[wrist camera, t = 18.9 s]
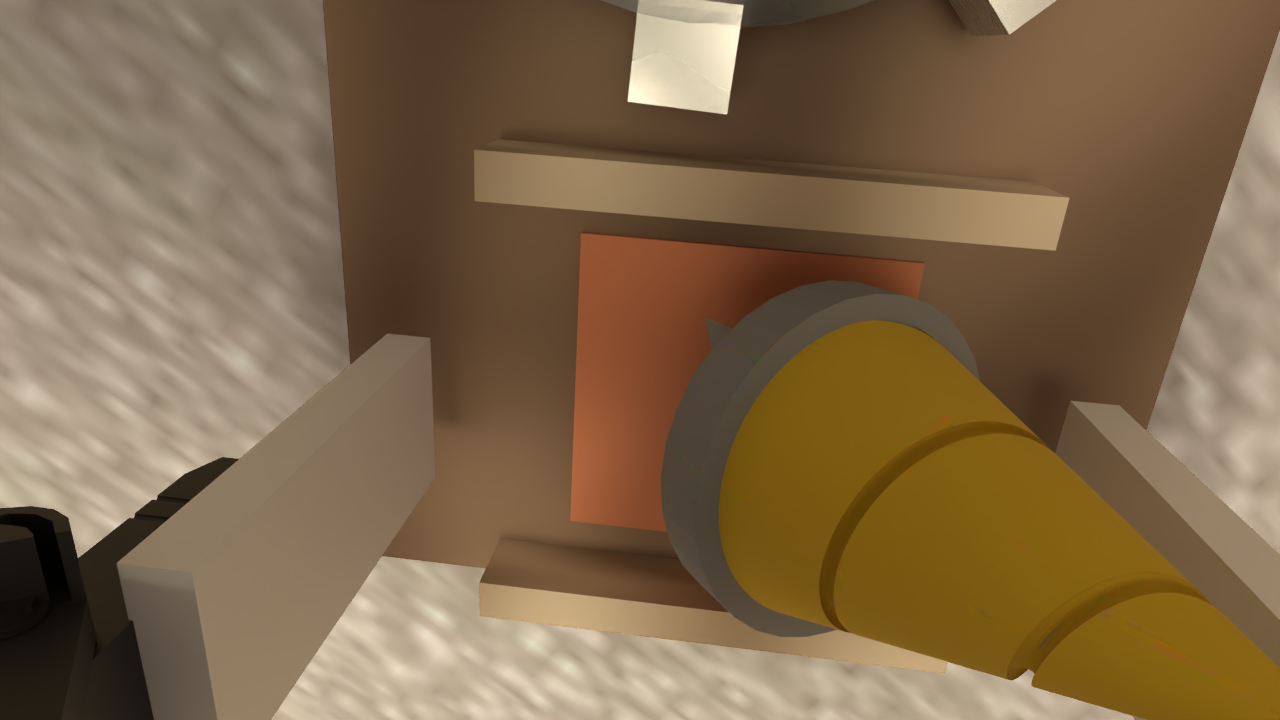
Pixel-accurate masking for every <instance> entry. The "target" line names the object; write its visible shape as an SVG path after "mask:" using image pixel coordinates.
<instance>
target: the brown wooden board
mask: <svg viewBox="0 0 1280 720" xmlns="http://www.w3.org/2000/svg"><path fill="white" fill-rule="evenodd" d="M323 8H324V22H325V35H326V48H327V61H328V74H329V87H330V101H331V114H332V127H333V140H334V153H335V166H336V180H337V193H338V206H339V219H340V232H341V245H342V259H343V272H344V285H345V298H346V311H347V324H348V338H349V351H350V364H352V363H353V362H354V361H356V360H357V359H358V358H359V357H360V356H361V355H363V354H364V353H365V352H366V351H367V350H369V349H370V348H371V347H372V346H373V345H374V344H376V343H377V342H378V341H379V340H380V339H381V338H383V337H384V336H385V335H386V334H397V335H407V336H417V337H428V338H430V341H431V369H432V397H433V425H434V454H435V478H434V480H433V481H432V483H431V484H430V486H429V487H428V489H427V490H426V492H425V493H424V495H423V496H422V497H421V499H420V500H419V502H418V503H417V505H416V506H415V508H414V509H413V511H412V512H411V514H410V515H409V517H408V518H407V520H406V521H405V523H404V524H403V525H402V527H401V528H400V530H399V531H398V533H397V534H396V536H395V537H394V539H393V540H392V542H391V543H390V545H389V546H388V548H387V549H386V551H385V552H384V553H383V555H382V556H387V557H396V558H404V559H413V560H421V561H430V562H438V563H446V564H455V565H463V566H472V567H480V568H486V570H485V572H484V574H483V576H482V578H481V581H480V616H484V617H493V618H501V619H509V620H517V621H525V622H533V623H541V624H549V625H557V626H565V627H574V628H582V629H590V630H598V631H606V632H614V633H622V634H630V635H638V636H646V637H655V638H663V639H671V640H679V641H687V642H695V643H703V644H711V645H719V646H727V647H735V648H744V649H752V650H760V651H768V652H776V653H784V654H792V655H800V656H808V657H816V658H825V659H833V660H841V661H849V662H857V663H865V664H873V665H881V666H889V667H897V668H906V669H914V670H922V671H930V672H938V673H945V670H946V666H947V661H943V660H940V659H937V658H933V657H930V656H926V655H923V654H919V653H916V652H913V651H909V650H906V649H902V648H899V647H895V646H892V645H889V644H885V643H882V642H878V641H875V640H872V639H868V638H865V637H861V636H858V635H855V634H852V633H848V632H844V631H841V630H834V631H831V632H827V633H822V634H818V635H813V636H809V637H779V636H775V635H771V634H767V633H764V632H760V631H756V630H755V629H753V628H751V627H750V626H748V625H746V624H745V623H743V622H741V621H740V620H738V619H736V618H735V617H734V616H733V615H732V614H730V613H729V612H728V611H727V610H726V609H725V608H724V607H723V606H722V605H721V604H720V603H719V602H718V601H717V600H716V599H715V598H714V597H713V596H712V595H711V594H710V593H709V592H708V591H707V590H706V589H705V588H704V587H703V586H702V585H701V584H700V583H699V582H698V581H697V580H696V579H695V578H694V577H693V576H692V575H691V574H690V573H689V571H688V570H687V569H686V568H685V567H684V566H683V565H682V563H681V561H680V559H679V558H678V556H677V554H676V552H675V550H674V548H673V546H672V544H671V542H670V541H669V537H668V533H667V529H666V525H665V521H664V517H663V513H662V501H661V471H662V464H663V457H664V450H665V444H666V440H667V437H668V434H669V431H670V428H671V425H672V422H673V419H674V416H675V413H676V409H677V407H678V405H679V403H680V401H681V399H682V397H683V395H684V393H685V391H686V389H687V387H688V386H689V384H690V382H691V380H692V378H693V376H694V374H695V373H696V371H697V370H698V368H699V367H700V366H701V364H702V363H703V362H704V360H705V359H706V358H707V356H708V355H709V353H710V352H711V351H712V350H711V345H710V339H709V334H708V328H707V322H706V317H707V318H710V319H712V320H714V321H716V322H719V323H721V324H723V325H726V326H728V327H730V328H733V327H734V326H735V325H736V324H737V323H738V322H739V321H740V320H741V319H742V318H744V317H745V316H747V315H748V314H750V313H751V312H752V311H754V310H755V309H757V308H758V307H760V306H761V305H763V304H764V303H766V302H767V301H768V300H770V299H771V298H774V297H776V296H778V295H781V294H783V293H785V292H788V291H790V290H792V289H795V288H797V287H799V286H802V285H808V284H813V283H818V282H823V281H828V280H834V281H852V282H859V283H863V284H866V285H870V286H874V287H877V288H881V289H884V290H888V291H891V292H895V293H899V294H902V295H905V296H908V297H911V298H914V299H917V300H920V301H923V302H926V303H928V304H930V305H931V306H933V307H934V308H936V309H937V310H938V311H940V312H941V313H943V314H944V315H946V316H947V317H948V318H949V319H950V320H951V321H952V323H953V324H954V325H955V326H956V327H957V329H958V330H959V331H960V332H961V334H962V335H963V336H964V337H965V340H966V342H967V344H968V346H969V348H970V350H971V352H972V354H973V357H974V359H975V361H976V365H977V369H978V374H979V378H980V382H981V383H982V384H983V385H984V386H985V387H986V388H987V389H988V390H989V391H990V392H992V393H993V394H994V395H995V396H996V397H997V398H998V399H999V400H1000V401H1001V402H1002V403H1003V404H1004V405H1005V406H1006V407H1007V408H1008V409H1009V410H1010V411H1011V412H1012V413H1014V414H1015V415H1016V416H1017V417H1018V418H1019V419H1020V420H1021V421H1022V422H1023V423H1024V424H1025V425H1026V426H1027V427H1028V428H1029V429H1030V430H1031V431H1032V432H1033V433H1034V434H1036V435H1037V436H1038V437H1039V438H1040V439H1041V440H1042V441H1043V442H1044V443H1045V444H1046V445H1047V446H1048V447H1049V448H1050V449H1051V450H1052V451H1053V452H1054V453H1055V452H1056V449H1057V446H1058V442H1059V439H1060V435H1061V432H1062V428H1063V425H1064V422H1065V418H1066V415H1067V411H1068V408H1069V404H1070V401H1079V402H1089V403H1099V404H1110V405H1119V406H1120V407H1121V408H1123V409H1124V410H1125V411H1126V412H1127V413H1128V414H1129V415H1130V416H1131V417H1132V418H1133V419H1134V420H1135V421H1137V422H1138V423H1139V424H1140V425H1141V426H1142V427H1143V428H1144V429H1145V430H1146V428H1147V425H1148V422H1149V419H1150V416H1151V413H1152V410H1153V407H1154V404H1155V401H1156V398H1157V395H1158V392H1159V389H1160V386H1161V383H1162V380H1163V377H1164V374H1165V371H1166V368H1167V365H1168V362H1169V359H1170V356H1171V353H1172V350H1173V348H1174V345H1175V342H1176V339H1177V336H1178V333H1179V330H1180V327H1181V324H1182V321H1183V318H1184V315H1185V312H1186V309H1187V306H1188V303H1189V300H1190V297H1191V294H1192V291H1193V288H1194V285H1195V282H1196V279H1197V276H1198V273H1199V270H1200V267H1201V264H1202V261H1203V258H1204V255H1205V252H1206V249H1207V246H1208V243H1209V240H1210V237H1211V234H1212V231H1213V228H1214V225H1215V222H1216V219H1217V216H1218V213H1219V210H1220V207H1221V204H1222V201H1223V198H1224V195H1225V192H1226V189H1227V186H1228V183H1229V180H1230V177H1231V174H1232V171H1233V168H1234V165H1235V162H1236V159H1237V156H1238V153H1239V150H1240V147H1241V144H1242V141H1243V138H1244V135H1245V132H1246V129H1247V126H1248V123H1249V120H1250V117H1251V114H1252V111H1253V108H1254V105H1255V102H1256V99H1257V96H1258V93H1259V90H1260V87H1261V84H1262V81H1263V78H1264V75H1265V72H1266V69H1267V66H1268V63H1269V60H1270V57H1271V54H1272V51H1273V48H1274V45H1275V42H1276V39H1277V36H1278V33H1279V30H1280V0H1056V1H1055V2H1054V3H1052V4H1051V5H1049V6H1048V7H1047V8H1045V9H1044V10H1043V11H1041V12H1040V13H1038V14H1037V15H1036V16H1034V17H1033V18H1032V19H1030V20H1029V21H1027V22H1026V23H1025V24H1023V25H1022V26H1021V27H1019V28H1018V29H1016V30H1015V31H1014V32H1012V33H1011V34H1010V35H984V36H971V35H970V34H969V32H968V30H967V29H966V27H965V26H964V24H963V22H962V21H961V19H960V17H959V16H958V14H957V13H956V11H955V9H954V8H953V6H952V5H951V3H950V1H949V0H873V1H871V2H868V3H865V4H863V5H860V6H857V7H855V8H852V9H849V10H845V11H842V12H838V13H834V14H830V15H826V16H821V17H817V18H813V19H808V20H804V21H799V22H795V23H791V24H784V25H773V26H761V27H750V28H740V32H739V39H738V46H737V52H736V59H735V65H734V72H733V79H732V85H731V92H730V98H729V105H728V112H727V114H719V113H712V112H704V111H697V110H689V109H681V108H674V107H666V106H658V105H651V104H643V103H635V102H628V94H629V85H630V75H631V66H632V57H633V47H634V38H635V28H636V19H637V13H635V12H632V11H629V10H627V9H624V8H621V7H618V6H615V5H612V4H610V3H607V2H604V1H601V0H323Z"/></svg>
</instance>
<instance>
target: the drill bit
mask: <svg viewBox="0 0 1280 720" xmlns="http://www.w3.org/2000/svg"><path fill="white" fill-rule="evenodd" d="M706 322H707V328H708V334H709V339H710V345H711V350H712V351H711V352H710V353H709V355H708V356H707V358H706V359H705V360H704V362H703V363H702V364H701V366H700V367H699V368H698V370H697V371H696V373H695V374H694V376H693V378H692V380H691V382H690V384H689V386H688V387H687V389H686V391H685V393H684V395H683V397H682V399H681V401H680V403H679V405H678V407H677V409H676V413H675V416H674V419H673V422H672V425H671V428H670V431H669V434H668V437H667V440H666V444H665V450H664V457H663V464H662V471H661V501H662V513H663V517H664V521H665V525H666V529H667V533H668V537H669V541H670V542H671V544H672V546H673V548H674V550H675V552H676V554H677V556H678V558H679V559H680V561H681V563H682V565H683V566H684V567H685V568H686V569H687V570H688V571H689V573H690V574H691V575H692V576H693V577H694V578H695V579H696V580H697V581H698V582H699V583H700V584H701V585H702V586H703V587H704V588H705V589H706V590H707V591H708V592H709V593H710V594H711V595H712V596H713V597H714V598H715V599H716V600H717V601H718V602H719V603H720V604H721V605H722V606H723V607H724V608H725V609H726V610H727V611H728V612H729V613H730V614H732V615H733V616H734V617H735V618H736V619H738V620H740V621H741V622H743V623H745V624H746V625H748V626H750V627H751V628H753V629H755V630H756V631H760V632H764V633H767V634H771V635H775V636H779V637H809V636H813V635H818V634H822V633H827V632H831V631H834V630H841V631H844V632H848V633H852V634H855V635H858V636H861V637H865V638H868V639H872V640H875V641H878V642H882V643H885V644H889V645H892V646H895V647H899V648H902V649H906V650H909V651H913V652H916V653H919V654H923V655H926V656H930V657H933V658H937V659H940V660H943V661H947V662H950V663H954V664H957V665H961V666H964V667H967V668H971V669H974V670H978V671H981V672H985V673H988V674H991V675H995V676H998V677H1002V678H1005V679H1008V680H1014V679H1016V678H1018V677H1019V676H1021V675H1022V674H1023V673H1024V672H1025V671H1027V670H1028V669H1029V670H1031V671H1033V672H1034V674H1035V675H1034V677H1033V680H1032V686H1033V687H1036V688H1039V689H1043V690H1046V691H1050V692H1053V693H1056V694H1060V695H1063V696H1067V697H1070V698H1074V699H1077V700H1080V701H1084V702H1087V703H1091V704H1094V705H1098V706H1101V707H1104V708H1108V709H1111V710H1115V711H1118V712H1122V713H1125V714H1128V715H1132V716H1135V717H1139V718H1142V719H1146V720H1280V668H1279V667H1278V666H1277V665H1276V664H1275V663H1274V662H1273V661H1272V660H1271V659H1270V658H1269V657H1268V656H1267V655H1266V654H1265V653H1264V652H1263V651H1262V650H1261V649H1260V648H1259V647H1257V646H1256V645H1255V644H1254V643H1253V642H1252V641H1251V640H1250V639H1249V638H1248V637H1247V636H1246V635H1245V634H1244V633H1243V632H1242V631H1241V630H1240V629H1239V628H1238V627H1237V626H1235V625H1234V624H1233V623H1232V622H1231V621H1230V620H1229V619H1228V618H1227V617H1226V616H1225V615H1224V614H1223V613H1222V612H1220V611H1219V610H1218V609H1217V608H1215V607H1214V606H1212V605H1211V603H1210V602H1209V601H1208V599H1207V598H1206V597H1205V596H1204V595H1203V594H1202V593H1201V592H1200V591H1199V590H1198V589H1197V588H1196V587H1195V586H1194V585H1193V584H1191V583H1190V582H1189V581H1188V580H1187V579H1186V578H1185V577H1184V576H1183V575H1182V574H1181V573H1180V572H1179V571H1178V570H1177V569H1176V568H1175V567H1174V566H1173V565H1172V564H1171V563H1170V562H1168V561H1167V560H1166V559H1165V558H1164V557H1163V556H1162V555H1161V554H1160V553H1159V552H1158V551H1157V550H1156V549H1155V548H1154V547H1153V546H1152V545H1151V544H1150V543H1149V542H1148V541H1146V540H1145V539H1144V538H1143V537H1142V536H1141V535H1140V534H1139V533H1138V532H1137V531H1136V530H1135V529H1134V528H1133V527H1132V526H1131V525H1130V524H1129V523H1128V522H1127V521H1126V520H1124V519H1123V518H1122V517H1121V516H1120V515H1119V514H1118V513H1117V512H1116V511H1115V510H1114V509H1113V508H1112V507H1111V506H1110V505H1109V504H1108V503H1107V502H1106V501H1105V500H1104V499H1103V498H1101V497H1100V496H1099V495H1098V494H1097V493H1096V492H1095V491H1094V490H1093V489H1092V488H1091V487H1090V486H1089V485H1088V484H1087V483H1086V482H1085V481H1084V480H1083V479H1082V478H1081V477H1079V476H1078V475H1077V474H1076V473H1075V472H1074V471H1073V470H1072V469H1071V468H1070V467H1069V466H1068V465H1067V464H1066V463H1065V462H1064V461H1063V460H1062V459H1061V458H1060V457H1059V456H1057V455H1056V454H1055V453H1054V452H1053V451H1052V450H1051V449H1050V448H1049V447H1048V446H1047V445H1046V444H1045V443H1044V442H1043V441H1042V440H1041V439H1040V438H1039V437H1038V436H1037V435H1036V434H1034V433H1033V432H1032V431H1031V430H1030V429H1029V428H1028V427H1027V426H1026V425H1025V424H1024V423H1023V422H1022V421H1021V420H1020V419H1019V418H1018V417H1017V416H1016V415H1015V414H1014V413H1012V412H1011V411H1010V410H1009V409H1008V408H1007V407H1006V406H1005V405H1004V404H1003V403H1002V402H1001V401H1000V400H999V399H998V398H997V397H996V396H995V395H994V394H993V393H992V392H990V391H989V390H988V389H987V388H986V387H985V386H984V385H983V384H982V383H981V382H980V378H979V374H978V369H977V365H976V361H975V359H974V357H973V354H972V352H971V350H970V348H969V346H968V344H967V342H966V340H965V337H964V336H963V335H962V334H961V332H960V331H959V330H958V329H957V327H956V326H955V325H954V324H953V323H952V321H951V320H950V319H949V318H948V317H947V316H946V315H944V314H943V313H941V312H940V311H938V310H937V309H936V308H934V307H933V306H931V305H930V304H928V303H926V302H923V301H920V300H917V299H914V298H911V297H908V296H905V295H902V294H899V293H895V292H891V291H888V290H884V289H881V288H877V287H874V286H870V285H866V284H863V283H859V282H852V281H834V280H828V281H823V282H818V283H813V284H808V285H802V286H799V287H797V288H795V289H792V290H790V291H788V292H785V293H783V294H781V295H778V296H776V297H774V298H771V299H770V300H768V301H767V302H766V303H764V304H763V305H761V306H760V307H758V308H757V309H755V310H754V311H752V312H751V313H750V314H748V315H747V316H745V317H744V318H742V319H741V320H740V321H739V322H738V323H737V324H736V325H735V326H734V327H733V328H730V327H728V326H726V325H723V324H721V323H719V322H716V321H714V320H712V319H710V318H707V317H706Z"/></svg>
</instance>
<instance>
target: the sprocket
mask: <svg viewBox="0 0 1280 720" xmlns="http://www.w3.org/2000/svg"><path fill="white" fill-rule="evenodd" d="M601 1H604V2H607V3H610V4H612V5H615V6H618V7H621V8H624V9H627V10H629V11H632V12H635V13H637V19H636V28H635V38H634V47H633V57H632V66H631V75H630V85H629V94H628V102H635V103H643V104H651V105H658V106H666V107H674V108H681V109H689V110H697V111H704V112H712V113H719V114H727V112H728V105H729V98H730V92H731V85H732V79H733V72H734V65H735V59H736V52H737V46H738V39H739V32H740V28H750V27H761V26H773V25H784V24H791V23H795V22H799V21H804V20H808V19H813V18H817V17H821V16H826V15H830V14H834V13H838V12H842V11H845V10H849V9H852V8H855V7H857V6H860V5H863V4H865V3H868V2H871V1H873V0H601ZM949 1H950V3H951V5H952V6H953V8H954V9H955V11H956V13H957V14H958V16H959V17H960V19H961V21H962V22H963V24H964V26H965V27H966V29H967V30H968V32H969V34H970V35H971V36H984V35H1010V34H1011V33H1012V32H1014V31H1015V30H1016V29H1018V28H1019V27H1021V26H1022V25H1023V24H1025V23H1026V22H1027V21H1029V20H1030V19H1032V18H1033V17H1034V16H1036V15H1037V14H1038V13H1040V12H1041V11H1043V10H1044V9H1045V8H1047V7H1048V6H1049V5H1051V4H1052V3H1054V2H1055V1H1056V0H949Z"/></svg>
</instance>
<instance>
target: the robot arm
mask: <svg viewBox="0 0 1280 720" xmlns="http://www.w3.org/2000/svg"><path fill="white" fill-rule="evenodd" d="M1055 454H1056V455H1057V456H1059V457H1060V458H1061V459H1062V460H1063V461H1064V462H1065V463H1066V464H1067V465H1068V466H1069V467H1070V468H1071V469H1072V470H1073V471H1074V472H1075V473H1076V474H1077V475H1078V476H1079V477H1081V478H1082V479H1083V480H1084V481H1085V482H1086V483H1087V484H1088V485H1089V486H1090V487H1091V488H1092V489H1093V490H1094V491H1095V492H1096V493H1097V494H1098V495H1099V496H1100V497H1101V498H1103V499H1104V500H1105V501H1106V502H1107V503H1108V504H1109V505H1110V506H1111V507H1112V508H1113V509H1114V510H1115V511H1116V512H1117V513H1118V514H1119V515H1120V516H1121V517H1122V518H1123V519H1124V520H1126V521H1127V522H1128V523H1129V524H1130V525H1131V526H1132V527H1133V528H1134V529H1135V530H1136V531H1137V532H1138V533H1139V534H1140V535H1141V536H1142V537H1143V538H1144V539H1145V540H1146V541H1148V542H1149V543H1150V544H1151V545H1152V546H1153V547H1154V548H1155V549H1156V550H1157V551H1158V552H1159V553H1160V554H1161V555H1162V556H1163V557H1164V558H1165V559H1166V560H1167V561H1168V562H1170V563H1171V564H1172V565H1173V566H1174V567H1175V568H1176V569H1177V570H1178V571H1179V572H1180V573H1181V574H1182V575H1183V576H1184V577H1185V578H1186V579H1187V580H1188V581H1189V582H1190V583H1191V584H1193V585H1194V586H1195V587H1196V588H1197V589H1198V590H1199V591H1200V592H1201V593H1202V594H1203V595H1204V596H1205V597H1206V598H1207V599H1208V601H1209V602H1210V603H1211V605H1212V606H1214V607H1215V608H1217V609H1218V610H1219V611H1220V612H1222V613H1223V614H1224V615H1225V616H1226V617H1227V618H1228V619H1229V620H1230V621H1231V622H1232V623H1233V624H1234V625H1235V626H1237V627H1238V628H1239V629H1240V630H1241V631H1242V632H1243V633H1244V634H1245V635H1246V636H1247V637H1248V638H1249V639H1250V640H1251V641H1252V642H1253V643H1254V644H1255V645H1256V646H1257V647H1259V648H1260V649H1261V650H1262V651H1263V652H1264V653H1265V654H1266V655H1267V656H1268V657H1269V658H1270V659H1271V660H1272V661H1273V662H1274V663H1275V664H1276V665H1277V666H1278V667H1279V668H1280V554H1279V553H1277V552H1276V551H1275V550H1274V549H1273V548H1272V547H1271V546H1270V545H1269V544H1268V543H1267V542H1266V541H1265V540H1263V539H1262V538H1261V537H1260V536H1259V535H1258V534H1257V533H1256V532H1255V531H1254V530H1253V529H1252V528H1251V527H1249V526H1248V525H1247V524H1246V523H1245V522H1244V521H1243V520H1242V519H1241V518H1240V517H1239V516H1238V515H1237V514H1235V513H1234V512H1233V511H1232V510H1231V509H1230V508H1229V507H1228V506H1227V505H1226V504H1225V503H1224V502H1223V501H1222V500H1220V499H1219V498H1218V497H1217V496H1216V495H1215V494H1214V493H1213V492H1212V491H1211V490H1210V489H1209V488H1208V487H1206V486H1205V485H1204V484H1203V483H1202V482H1201V481H1200V480H1199V479H1198V478H1197V477H1196V476H1195V475H1194V474H1192V473H1191V472H1190V471H1189V470H1188V469H1187V468H1186V467H1185V466H1184V465H1183V464H1182V463H1181V462H1180V461H1178V460H1177V459H1176V458H1175V457H1174V456H1173V455H1172V454H1171V453H1170V452H1169V451H1168V450H1167V449H1166V448H1165V447H1163V446H1162V445H1161V444H1160V443H1159V442H1158V441H1157V440H1156V439H1155V438H1154V437H1153V436H1152V435H1151V434H1149V433H1148V432H1147V431H1146V430H1145V429H1144V428H1143V427H1142V426H1141V425H1140V424H1139V423H1138V422H1137V421H1135V420H1134V419H1133V418H1132V417H1131V416H1130V415H1129V414H1128V413H1127V412H1126V411H1125V410H1124V409H1123V408H1121V407H1120V406H1119V405H1110V404H1099V403H1089V402H1079V401H1070V404H1069V408H1068V411H1067V415H1066V418H1065V422H1064V425H1063V428H1062V432H1061V435H1060V439H1059V442H1058V446H1057V449H1056V452H1055ZM434 478H435V454H434V425H433V397H432V369H431V341H430V338H428V337H417V336H407V335H397V334H386V335H385V336H384V337H383V338H381V339H380V340H379V341H378V342H377V343H376V344H374V345H373V346H372V347H371V348H370V349H369V350H367V351H366V352H365V353H364V354H363V355H361V356H360V357H359V358H358V359H357V360H356V361H354V362H353V363H352V364H351V365H350V366H348V367H347V368H346V369H345V370H344V371H343V372H341V373H340V374H339V375H338V376H337V377H335V378H334V379H333V380H332V381H331V382H330V383H328V384H327V385H326V386H325V387H324V388H323V389H321V390H320V391H319V392H318V393H317V394H315V395H314V396H313V397H312V398H311V399H310V400H308V401H307V402H306V403H305V404H304V405H302V406H301V407H300V408H299V409H298V410H297V411H295V412H294V413H293V414H292V415H291V416H290V417H288V418H287V419H286V420H285V421H284V422H282V423H281V424H280V425H279V426H278V427H277V428H275V429H274V430H273V431H272V432H271V433H269V434H268V435H267V436H266V437H265V438H264V439H262V440H261V441H260V442H259V443H258V444H256V445H255V446H254V447H253V448H252V449H251V450H249V451H248V452H247V453H246V454H245V455H244V456H242V457H241V458H240V459H233V458H224V457H222V458H219V459H217V460H215V461H213V462H211V463H208V464H206V465H204V466H202V467H199V468H197V469H195V470H193V471H191V472H188V473H186V474H184V475H183V476H182V477H180V478H179V479H178V480H177V481H175V482H174V483H173V484H172V485H170V486H169V487H168V488H167V489H165V490H164V491H163V492H162V493H160V494H159V495H158V498H157V500H151V501H150V502H149V503H148V504H146V505H145V506H144V507H143V508H141V509H140V510H139V511H137V512H136V513H135V517H134V519H133V518H129V519H127V520H126V521H125V522H124V523H122V524H121V525H120V526H119V527H117V528H116V529H115V530H113V531H112V532H111V533H110V534H108V535H107V536H106V537H105V538H103V539H102V540H101V541H100V542H98V543H97V544H96V545H94V546H93V547H92V548H91V549H89V550H88V551H87V552H86V553H84V554H83V555H82V556H81V557H79V558H78V557H77V553H76V549H75V544H74V540H73V536H72V532H71V527H70V523H69V519H68V517H66V516H64V515H63V514H61V513H59V512H58V511H56V510H54V509H47V508H40V507H33V506H28V507H14V508H1V509H0V720H271V719H272V717H273V716H274V714H275V713H276V711H277V710H278V708H279V707H280V705H281V704H282V702H283V701H284V699H285V698H286V696H287V695H288V693H289V692H290V691H291V689H292V688H293V686H294V685H295V683H296V682H297V680H298V679H299V677H300V676H301V674H302V673H303V671H304V670H305V668H306V667H307V665H308V664H309V663H310V661H311V660H312V658H313V657H314V655H315V654H316V652H317V651H318V649H319V648H320V646H321V645H322V643H323V642H324V640H325V639H326V637H327V636H328V635H329V633H330V632H331V630H332V629H333V627H334V626H335V624H336V623H337V621H338V620H339V618H340V617H341V615H342V614H343V612H344V611H345V609H346V608H347V607H348V605H349V604H350V602H351V601H352V599H353V598H354V596H355V595H356V593H357V592H358V590H359V589H360V587H361V586H362V584H363V583H364V581H365V580H366V579H367V577H368V576H369V574H370V573H371V571H372V570H373V568H374V567H375V565H376V564H377V562H378V561H379V559H380V558H381V556H382V555H383V553H384V552H385V551H386V549H387V548H388V546H389V545H390V543H391V542H392V540H393V539H394V537H395V536H396V534H397V533H398V531H399V530H400V528H401V527H402V525H403V524H404V523H405V521H406V520H407V518H408V517H409V515H410V514H411V512H412V511H413V509H414V508H415V506H416V505H417V503H418V502H419V500H420V499H421V497H422V496H423V495H424V493H425V492H426V490H427V489H428V487H429V486H430V484H431V483H432V481H433V480H434ZM1133 717H1134V719H1135V720H1146V719H1142V718H1139V717H1135V716H1133Z"/></svg>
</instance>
